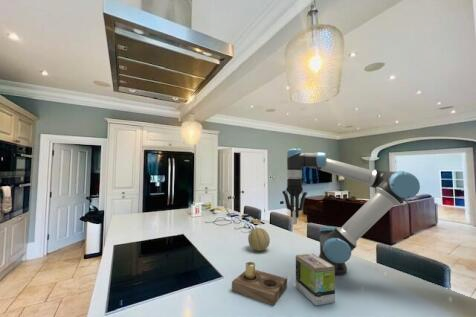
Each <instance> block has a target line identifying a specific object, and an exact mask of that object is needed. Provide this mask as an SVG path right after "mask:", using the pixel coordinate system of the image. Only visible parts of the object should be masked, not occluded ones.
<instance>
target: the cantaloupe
mask: <svg viewBox="0 0 476 317" xmlns="http://www.w3.org/2000/svg"><path fill="white" fill-rule="evenodd" d="M247 240H248V245H249V246H250V248H251V249H252V250H254V251H257V252H262V251H264V250H266V249H267V248H268V247H269V246H270V243H271V240H270V235H269V233H268V232H267V231H266V230H265V229H264V228H261V227H257V226H256V227H255V226H254V229H252V230H251V231H250V232H249V234H248V238H247Z"/></svg>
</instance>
